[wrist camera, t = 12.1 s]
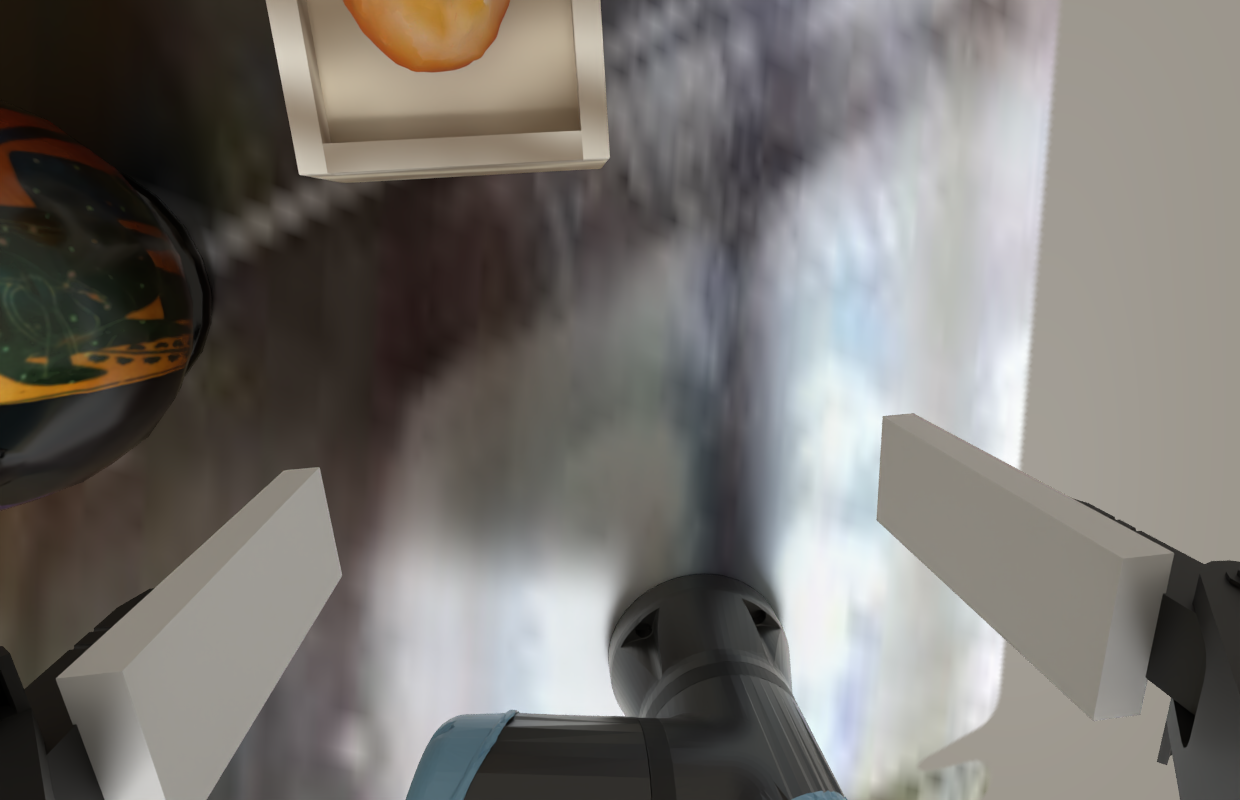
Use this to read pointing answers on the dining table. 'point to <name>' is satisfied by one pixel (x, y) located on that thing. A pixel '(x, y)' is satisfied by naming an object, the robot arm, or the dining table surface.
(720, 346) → the dining table surface
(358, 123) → the square tray
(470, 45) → the fruit
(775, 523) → the dining table surface
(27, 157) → the amphora vase
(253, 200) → the dining table surface
